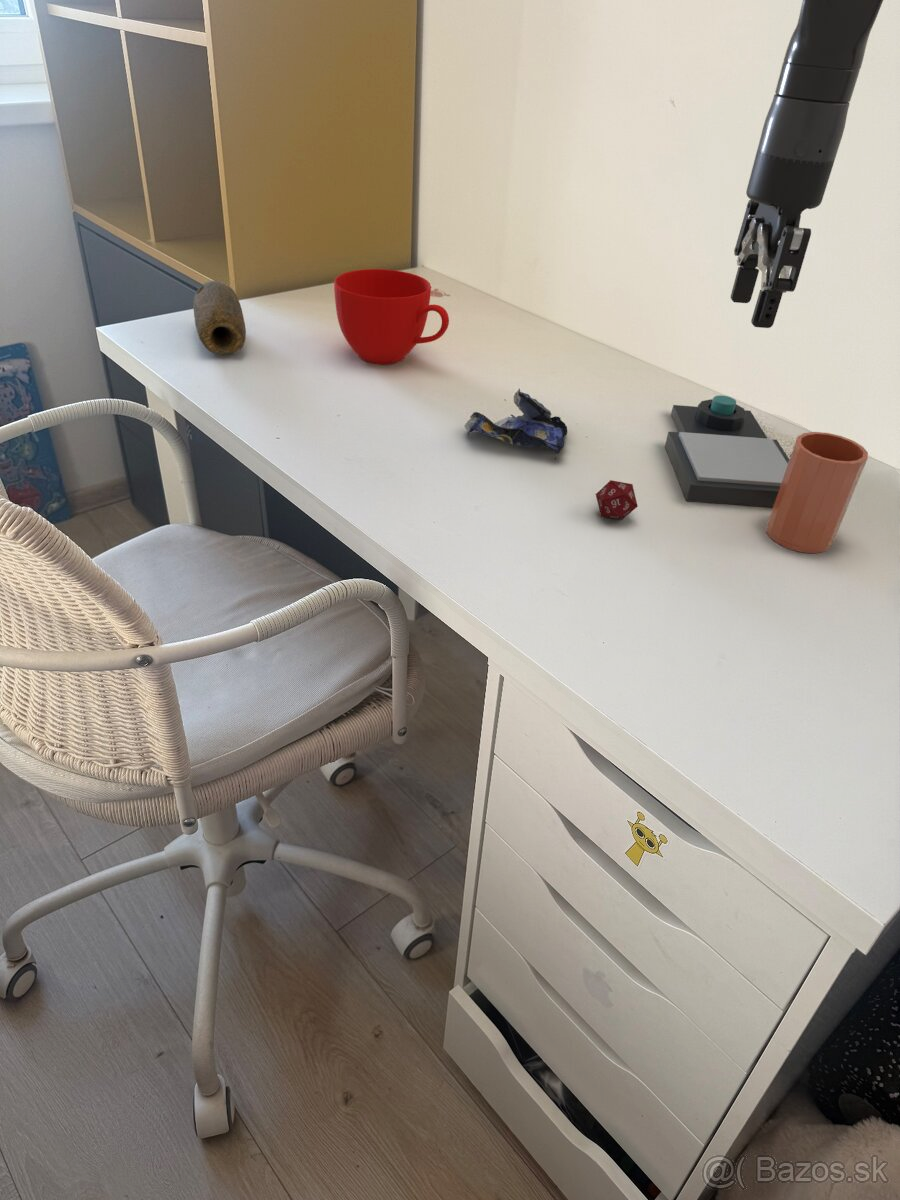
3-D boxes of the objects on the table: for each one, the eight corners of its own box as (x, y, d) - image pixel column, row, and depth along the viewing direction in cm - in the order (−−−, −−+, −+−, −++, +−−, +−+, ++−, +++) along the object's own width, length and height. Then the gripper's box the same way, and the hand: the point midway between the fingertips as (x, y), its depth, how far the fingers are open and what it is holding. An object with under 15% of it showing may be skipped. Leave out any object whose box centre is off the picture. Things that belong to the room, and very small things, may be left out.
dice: (628, 531, 83) (636, 496, 81) (586, 518, 85) (593, 484, 82) (638, 515, 86) (646, 481, 84) (598, 503, 87) (604, 469, 85)
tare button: (730, 407, 103) (733, 396, 103) (735, 417, 101) (739, 405, 100) (707, 406, 103) (711, 394, 103) (712, 415, 101) (716, 403, 100)
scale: (771, 454, 100) (778, 435, 98) (805, 509, 89) (813, 489, 88) (664, 446, 99) (669, 427, 98) (686, 501, 89) (691, 480, 88)
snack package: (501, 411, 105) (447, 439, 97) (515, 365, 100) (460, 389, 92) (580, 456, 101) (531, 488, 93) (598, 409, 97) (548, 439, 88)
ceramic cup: (418, 389, 108) (421, 312, 102) (316, 356, 115) (313, 282, 109) (468, 361, 117) (474, 289, 111) (371, 332, 124) (371, 263, 118)
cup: (819, 521, 87) (853, 434, 81) (840, 555, 82) (878, 465, 76) (758, 516, 87) (788, 429, 81) (776, 550, 82) (808, 460, 76)
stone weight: (189, 324, 122) (183, 277, 118) (237, 321, 124) (233, 275, 120) (202, 362, 111) (196, 311, 107) (255, 358, 113) (251, 309, 109)
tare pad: (747, 420, 107) (753, 398, 105) (764, 448, 101) (771, 425, 99) (670, 414, 107) (676, 392, 105) (682, 442, 101) (688, 419, 99)
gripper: (861, 166, 77) (803, 338, 87) (809, 142, 88) (764, 296, 98) (781, 160, 77) (733, 333, 87) (740, 136, 88) (701, 291, 98)
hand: (749, 313), depth 92 cm, fingers open, 8 cm apart
